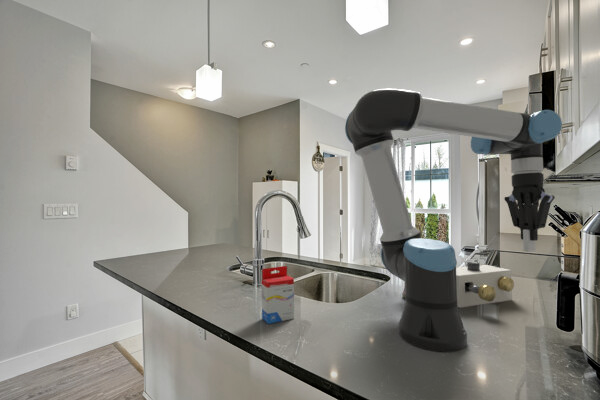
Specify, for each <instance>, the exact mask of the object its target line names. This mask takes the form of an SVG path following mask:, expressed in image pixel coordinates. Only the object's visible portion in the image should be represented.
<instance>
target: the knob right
mask: <svg viewBox="0 0 600 400" xmlns="http://www.w3.org/2000/svg"><path fill="white" fill-rule="evenodd" d="M498 287H499V288H500V289H501V290H504V291H508V292H510V291H511V290H512V291H513V290H514V287H515V282H514V280H513V278H512V277H511V278H508V277H500V278H499V280H498Z"/></svg>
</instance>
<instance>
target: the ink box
mask: <svg viewBox="0 0 600 400" xmlns="http://www.w3.org/2000/svg"><path fill="white" fill-rule="evenodd" d="M274 271H277V272H274ZM261 272H262V275H261V276H262V277H261V278H262V279H261V318H262V320H264V322H266V324H268V325H269V324H275V323H279V322H283V321H284V322H285V321H288V320H293V319H295V285H294V284H295V282H294V281H295V279H294V278H293V277H292V276H290V275H288V266H287V265H282V266H274V267H267V268H266V267H265V268H263V269H262V271H261ZM271 272H274V273H271Z"/></svg>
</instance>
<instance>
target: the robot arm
mask: <svg viewBox="0 0 600 400" xmlns="http://www.w3.org/2000/svg"><path fill="white" fill-rule="evenodd" d="M346 118H347V119H346V121H345V126H344V127H345V128H344V130H345V131H344V132H345V135H346V139H347V140H348V141H349V142H350V143H351V144H352V146H353V150H354V154H356V155H357V156H359V157H361V159H362V163H363V167H364V170H365V173H366V177H367V180H368V181H367V182H368V183H369V187H370V191H371V194H372V198H373V201H374V206H375V208H376V213H377V215H378V219H379V222H380V226H381V230H382V234H381V236H380V238H379V241H380V244H381V250H380V259H381V262H382V265H383V266H384V267H385V269H386V270H387V271H388V272H389V273H390V274H392V275H393V276H394V277H396V278H399V279H400V280H402V281H403V282H404V281H405V297H404V298H405V304H404V305H403V308H402V309H403V310H402V311H401V312H402V313H401V315H400V316H401V317H400V319H399V321H398V333H399V336H400V337H401V338H402V339H403V340H404V341H406V342H407V343H409V344H411V345H413V346H415V347H418V348H421V349H425V350H430V351H435V352H445V353H446V352H457V351H460V350H463V349H464V348H465V347H467V345H468V334H467V330H466V328H465V327H464V324H463V323H464V322H463V320H462V318H461V317H462V316H461V314H460V311H459V309H458V308H459V307H457V281H456V268H457V263H458V262H457V258H456V256H457V255H456V250H455V248H454V247H453V246H452V245H451V244H449V243H448V242H445V241H442V240H438V239H433V238H423V237H422V234H421V231H420V229H419V228H416V227H414V226H413V222H412V221H411V216H410V213H409V209H408V206H407V202H406V199H405V195H404V192H403V188H402V186H401V181H400V178H399V174H398V172H397V168H396V163H395V160H394V157H393V154H392V149H391V147H392V146H393V143H394V142H395V141H394V136H393V133H392V132H393V131H402V132H403V131H406V132H410V131H411V130H413V129H419V130H425V131H431V132H437V133H445V134H452V135H456V136H457V135H458V136H465V137H471V138H470V149H471V151H472V152H473V154H477V155H484V156H487V155H510V168H511V169H510V173H511V174H512V175H511V186H512V191H511V194H510V195H509V196H505V197H504V198H503V199H504V201H505V202H506V204H507V207H508V211H509V213H510V214H509V215H510V217H511V221H512V225H513V227H516V228H518V229H519V230H520V239H521V241H523V245H522V246H523V252H528V253H530V252H531V253H532V252H536V241H538V239H539V236H538V235H539V234H538V230H540V229H544V228H545V227H546V224H547V222H548V216H549V212H550V208H551V204H552V202H553V201H554V200H555V198H556V197H555V195H553V194H549V193H546V190H545V188H544V183H545V182H544V181H545V180H544V178H545V177H544V176H545V175H544V173H542V172H543V171H544V158H543V157H544V156H543V152H544V151H543V143H544V142H549V141H551V140H554V139H555V138H557V136H559V134H560V133H561V131H562V126H563V122H562V118H561V117H560V115H559V114H558V113H557V112H556V111H554V110H551V109H544V110H543V109H542V110H540V111H535V112H533V113H521V112H515V111H511V110H503V109H498V108H492V107H491V108H490V107H486V106H485V107H484V106H479V105H473V104H467V103H459V102H454V101H453V102H452V101H447V100H443V99H442V100H441V99H435V98H429V97H423V96H422V94H421V93H420V92H419V91H413V90H407V89H399V88H398V89H397V88H380V89H375V90H374V89H373V90H371V91H368V92H367V93H365V94H363V95H362V96H361V98H359V99H358V101H357V103H356V104H355V106H354V108H353V109H352V110H351V111H350V112H349V114H348V116H347V117H346Z"/></svg>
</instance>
